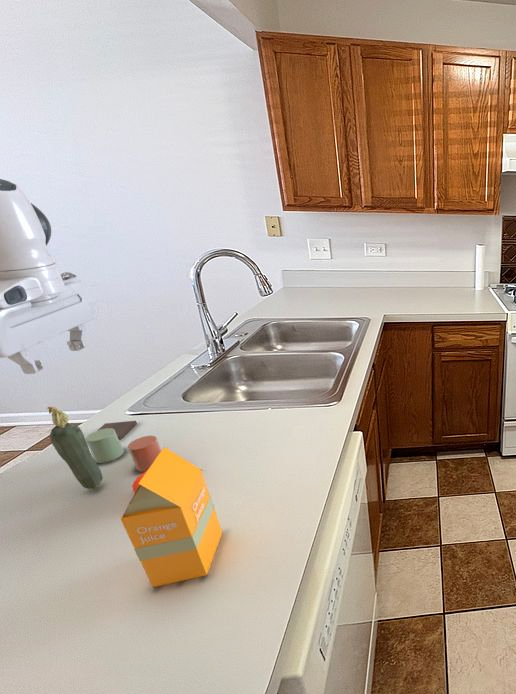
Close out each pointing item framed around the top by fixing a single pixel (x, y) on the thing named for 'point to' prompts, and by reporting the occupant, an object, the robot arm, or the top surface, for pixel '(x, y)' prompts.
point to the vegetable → (74, 450)
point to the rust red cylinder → (144, 452)
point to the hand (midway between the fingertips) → (57, 359)
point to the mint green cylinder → (104, 445)
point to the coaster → (120, 427)
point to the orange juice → (172, 521)
